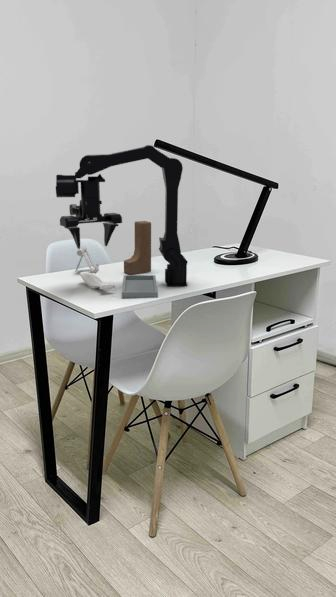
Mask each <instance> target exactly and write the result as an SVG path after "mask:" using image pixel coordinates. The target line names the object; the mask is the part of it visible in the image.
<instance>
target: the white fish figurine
mask: <svg viewBox="0 0 336 597" xmlns="http://www.w3.org/2000/svg"><path fill="white" fill-rule="evenodd" d="M79 276H80V278H81V279H82V281H83V282H84V283H85V284H86V286H88V287H89V288H91V289H93V290H96V289H99V290H108V289H109V290H110V289H114V288H116V286H115V285H113V284H107V283H106V282H104V281H103V280H102V279H101V278H100V277H98V276H96V275H95V274H94V273H92V272H90V271H89V272H88V271H81V272H79Z"/></svg>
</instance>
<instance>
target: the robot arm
mask: <svg viewBox="0 0 336 597" xmlns="http://www.w3.org/2000/svg"><path fill="white" fill-rule="evenodd" d="M147 159H148V160H149V161H151V162H152V163H153V164H155V165H157V167H159V168H161V171H162V177H163V178H162V179H163V182H164V183H163V184H164V187H165V189H164V191H165V194H164V195H165V198H164V200H165V203H164V204H165V207H164V210H165V211H164V233H163V234H164V235H163V237H159V238H158V239H159V247H158V250H159V252H160V253H161V255H162V257H163V259H164V260H165V261H166V262H168V264H166V268H164V283H165V284H166V286H167V287H173V286H174V287H176V286H177V287H183V286H184V287H187V286H188V282H187V274H188V270H187V269H188V267H187V265H188V260H187V259H186V258H185V256H184V255H183V254H182V251H181V245H180V240H179V235H178V219H179V218H178V215H179V214H178V212H179V210H178V209H179V208H178V206H179V205H178V202H179V187H180V183H181V179H182V174H183V169H184V168H183V164H182V162H181V161H180V160H179V159H177V158H175V157H169V156H167V155H165V154H164V153H162V152H161V151H160V150H158V149H156V148H155V147H154V146H153V145H152V144H147V145H145V146H141V147H137V148H132V149H128V150H123V151H118V152H113V153H108V154H107V153H106V154H102V153H101V154H86V155H84V156H83V157H82V158H81V159H80V160H79V168H78V170H77V171H75V172H74V175H73V174H56V176H55V178H56V181H55V184H56V185H55V195H56V198H76V195H78V194H80V199H79V205H78V204H76V203H72V204H69V215H61V217H60V219H59V225H60V226H62V227H64V229H66V230H68V231H69V232H70V235H71V236H72V238H73V241H74V244H75V245H76V248H77V249H78V250H79V249H80V247H81V228H80V227H78V225H79V224H80V225H81V224H92V223H93V224H94V223H102V224H103V228H104V232H103V234H104V237H103V242H104V246H105V247H108V246H109V242H110V240H111V237H112V235H113V232H114V231H115V230H116V227H119V224H123V217H122V215H121V214H120V213H118V212H106V213H103V214H102V213H101V205H102V204H103V202H102V200H101V194H100V193H101V192H100V191H101V190H100V183H105V182H106V179H105V178H104V177H103V176H102V174H101V173H99V172H101V171H104V170H107V169H108V168H112V167H115V166H119V165H123V164H124V165H125V164H128V163H133V162H137V161H142V160H147ZM98 173H99V174H98ZM95 174H98V175H97V176H95ZM86 175H87V179H82V178H83V177H85V176H86ZM91 175H94V176H91ZM79 184H80V188H79ZM79 189H80V191H79ZM79 192H80V193H79Z"/></svg>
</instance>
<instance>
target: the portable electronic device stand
mask: <svg viewBox="0 0 336 597" xmlns="http://www.w3.org/2000/svg"><path fill="white" fill-rule="evenodd" d="M76 255H77V256H79V257H80V259H79V261H78V263H77V265H76V269H75V272H77V271H78V269H79V268H80V265H81V262H82V260H83V257H84V261H86V264H87V266H88V268H89V270H90V273H92V274H95V273H96V272H97V271H98V269H99V267H100V263H99V262H97V263H96V264H95V263H94V262H93V260H92V258H91V255H90V253H89V251H88V249H87V247H86V246H84V245H80V249H78V250H76ZM87 256H88V258H87ZM88 259H89V260H88ZM89 261H90V262H89ZM90 263H91V264H90Z"/></svg>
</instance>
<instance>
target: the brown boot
mask: <svg viewBox="0 0 336 597" xmlns="http://www.w3.org/2000/svg"><path fill="white" fill-rule="evenodd" d="M151 272H152V222H151V221H147V220H140V221H138V220H137V221H134V251H133V255H132V256H131V257H130V258H127V259H125V260H123V273H124V274H127V275H140V274H146V273H151ZM139 273H140V274H139Z"/></svg>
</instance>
